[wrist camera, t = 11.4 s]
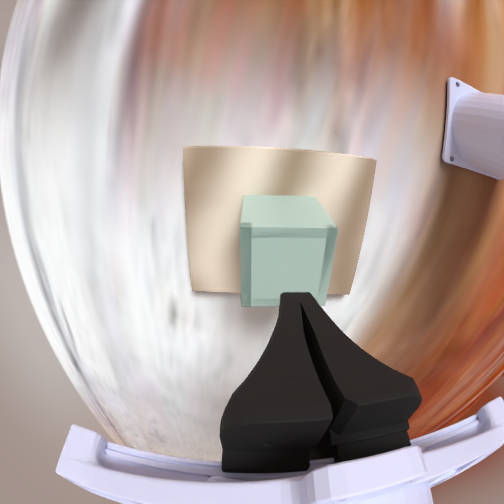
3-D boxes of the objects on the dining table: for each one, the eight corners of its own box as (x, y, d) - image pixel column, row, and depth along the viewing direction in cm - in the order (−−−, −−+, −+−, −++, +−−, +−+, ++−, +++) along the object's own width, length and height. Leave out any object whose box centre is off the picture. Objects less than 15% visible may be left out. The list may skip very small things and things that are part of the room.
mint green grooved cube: (315, 196, 19) (338, 228, 14) (309, 258, 22) (324, 305, 17) (243, 194, 19) (239, 227, 14) (244, 258, 22) (241, 306, 17)
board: (371, 158, 19) (405, 173, 14) (346, 288, 24) (364, 327, 20) (186, 146, 19) (163, 157, 14) (194, 284, 24) (181, 325, 19)
